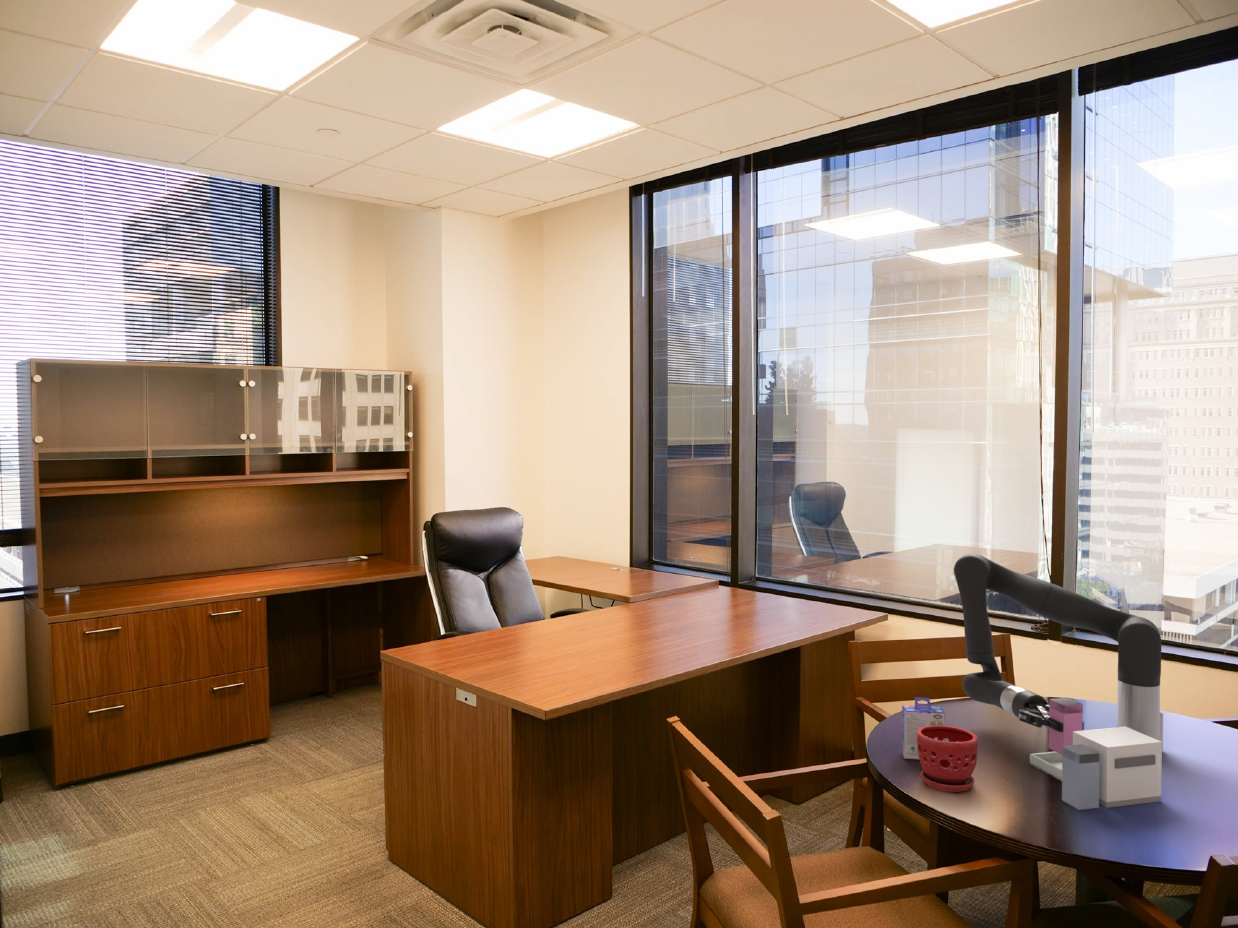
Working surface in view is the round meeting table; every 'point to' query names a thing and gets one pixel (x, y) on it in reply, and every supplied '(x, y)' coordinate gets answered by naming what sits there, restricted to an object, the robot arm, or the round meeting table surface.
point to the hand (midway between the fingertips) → (1072, 727)
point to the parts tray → (1048, 763)
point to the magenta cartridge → (1064, 722)
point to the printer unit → (1125, 765)
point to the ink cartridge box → (918, 724)
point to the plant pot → (947, 757)
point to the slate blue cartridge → (1080, 777)
